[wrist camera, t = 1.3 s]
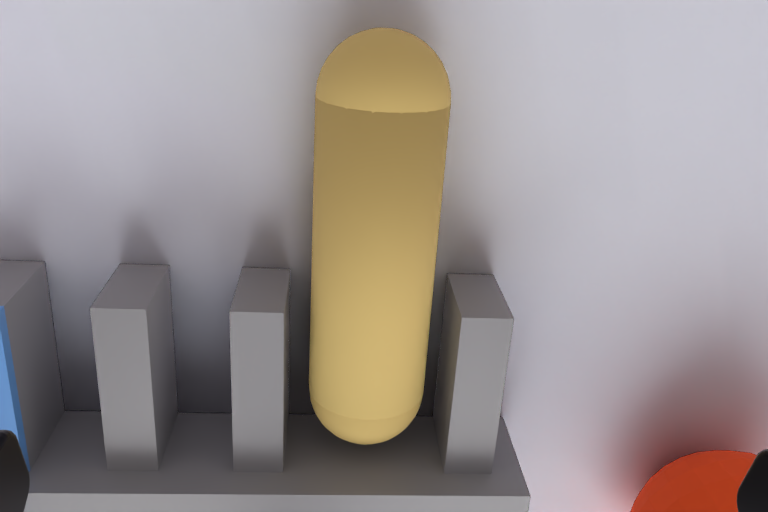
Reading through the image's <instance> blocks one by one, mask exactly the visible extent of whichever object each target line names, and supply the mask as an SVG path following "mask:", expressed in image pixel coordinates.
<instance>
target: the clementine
mask: <svg viewBox="0 0 768 512" xmlns="http://www.w3.org/2000/svg"><path fill="white" fill-rule="evenodd" d="M756 456H757V455H755V454H752V453H747V452H739V451H730V450H712V451H703V452H696V453H693V454H690V455H687V456H684V457H680V458H678V459H677V460H675V461H673V462H671V463H669V464H667V465H666V466H664V467H663V468H661V469H660V470H659V471H658V472H657V473H656V474H654V475H653V476H652V477H651V478H650V479H649V480H648V482H647V483H646V484H645V486H644V487H643V488H642V490H641V491H640V493H639V495H638V496H637V498H636V500H635V502H634V504H633V506H632V509H631V511H630V512H738V508H737V492H738V489H739V486H740V485H741V483H742V481H743V479H744V477H745V476H746V474H747V472H748V470H749V468H750V467H751V465H752V463H753V461H754V459H755V458H756Z"/></svg>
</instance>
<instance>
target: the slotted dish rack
mask: <svg viewBox="0 0 768 512" xmlns="http://www.w3.org/2000/svg"><path fill="white" fill-rule="evenodd" d="M90 315H91V325H92V334H93V343H94V352H95V361H96V370H97V379H98V388H99V397H100V406H101V412H99V411H65V409H64V401H63V394H62V386H61V379H60V371H59V364H58V356H57V349H56V341H55V334H54V326H53V319H52V311H51V303H50V296H49V288H48V281H47V273H46V266H45V261H14V260H0V430H9V431H12V432H13V433H14V434H15V435H16V437H17V439H18V442H19V445H20V448H21V451H22V454H23V457H24V460H25V463H26V465H27V468H28V471H29V476H30V488H29V494H28V498H27V501H26V505H25V509H24V512H528V508H529V502H530V493H529V491H528V488H527V485H526V482H525V479H524V476H523V473H522V471H521V468H520V465H519V462H518V459H517V456H516V453H515V450H514V448H513V445H512V442H511V439H510V436H509V433H508V430H507V427H506V425H505V422H504V419H503V417H500V412H501V405H502V399H503V392H504V385H505V378H506V371H507V364H508V357H509V350H510V344H511V337H512V330H513V323H514V318H513V316H512V313H511V311H510V309H509V307H508V305H507V303H506V301H505V298H504V296H503V294H502V292H501V290H500V288H499V286H498V284H497V281H496V279H495V277H494V275H479V274H447V282H446V292H445V301H444V311H443V321H442V331H441V341H440V350H439V360H438V370H437V380H436V389H435V399H434V409H433V416H415V418H414V419H413V420H412V422H411V423H410V424H409V425H408V427H407V428H406V429H405V430H403V431H402V432H401V433H400V434H398V435H397V436H395V437H393V438H392V439H390V440H387V441H384V442H381V443H376V444H367V445H364V444H356V443H351V442H348V441H345V440H342V439H341V438H339V437H337V436H335V435H334V434H333V433H331V432H330V431H329V430H328V429H327V428H325V426H324V425H323V424H322V423H321V421H320V420H319V418H318V417H317V415H301V414H289V358H290V269H280V268H247V267H242V270H241V273H240V277H239V280H238V284H237V287H236V290H235V294H234V297H233V301H232V304H231V307H230V311H229V321H230V359H231V396H232V413H178V402H177V385H176V369H175V352H174V336H173V319H172V303H171V286H170V270H169V265H147V264H119V266H118V267H117V269H116V270H115V272H114V273H113V275H112V276H111V277H110V279H109V280H108V282H107V283H106V285H105V286H104V288H103V289H102V291H101V292H100V294H99V295H98V297H97V298H96V300H95V301H94V303H93V304H92V305H91V307H90Z"/></svg>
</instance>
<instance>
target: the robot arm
mask: <svg viewBox="0 0 768 512" xmlns="http://www.w3.org/2000/svg"><path fill="white" fill-rule="evenodd" d="M29 488H30V476H29V471H28V468H27V465H26V463H25V460H24V457H23V454H22V451H21V448H20V445H19V442H18V439H17V437H16V435H15V434H14V433H13V432H12V431H9V430H0V512H24V509H25V505H26V501H27V498H28V494H29ZM737 508H738V512H768V449H765V450H763V451H761V452H759V453H758V455H757V456H756V458H755V459H754V461H753V463H752V465H751V467H750V468H749V470H748V472H747V474H746V476H745V477H744V479H743V481H742V483H741V485H740V486H739V489H738V492H737Z"/></svg>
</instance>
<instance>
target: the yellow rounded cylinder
mask: <svg viewBox="0 0 768 512" xmlns="http://www.w3.org/2000/svg"><path fill="white" fill-rule="evenodd" d="M450 106H451V90H450V85H449V80H448V75H447V73H446V71H445V68H444V66H443V63H442V62H441V60H440V59H439V57H438V56H437V54H436V53H435V51H434V50H433V49H431V48H430V47H429V46H428V45H427V44H426V43H425V42H424V41H422V40H421V39H419V38H418V37H416V36H415V35H413V34H411V33H408V32H405V31H402V30H400V29H394V28H372V29H368V30H364V31H360V32H358V33H356V34H354V35H352V36H350V37H348V38H347V39H345V40H344V41H343V42H341V43H340V44H339V45H338V46H337V47H336V48H335V49H334V50H333V51H332V53H331V54H330V55H329V56H328V58H327V59H326V61H325V63H324V65H323V66H322V68H321V71H320V74H319V77H318V80H317V86H316V94H315V134H314V178H313V223H312V267H311V312H310V356H309V391H310V400H311V403H312V406H313V409H314V411H315V413H316V415H317V417H318V418H319V420H320V421H321V423H322V424H323V425H324V426H325V428H327V429H328V430H329V431H330V432H331V433H333V434H334V435H335V436H337V437H339V438H341V439H342V440H345V441H348V442H351V443H356V444H364V445H367V444H376V443H381V442H384V441H387V440H390V439H392V438H393V437H395V436H397V435H398V434H400V433H401V432H402V431H403V430H405V429H406V428H407V427H408V425H409V424H410V423H411V422H412V420H413V419H414V418H415V416H416V414H417V412H418V410H419V408H420V405H421V402H422V397H423V391H424V381H425V370H426V360H427V349H428V339H429V328H430V317H431V307H432V296H433V286H434V275H435V265H436V254H437V243H438V233H439V222H440V212H441V201H442V191H443V180H444V169H445V159H446V148H447V138H448V127H449V117H450Z"/></svg>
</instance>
